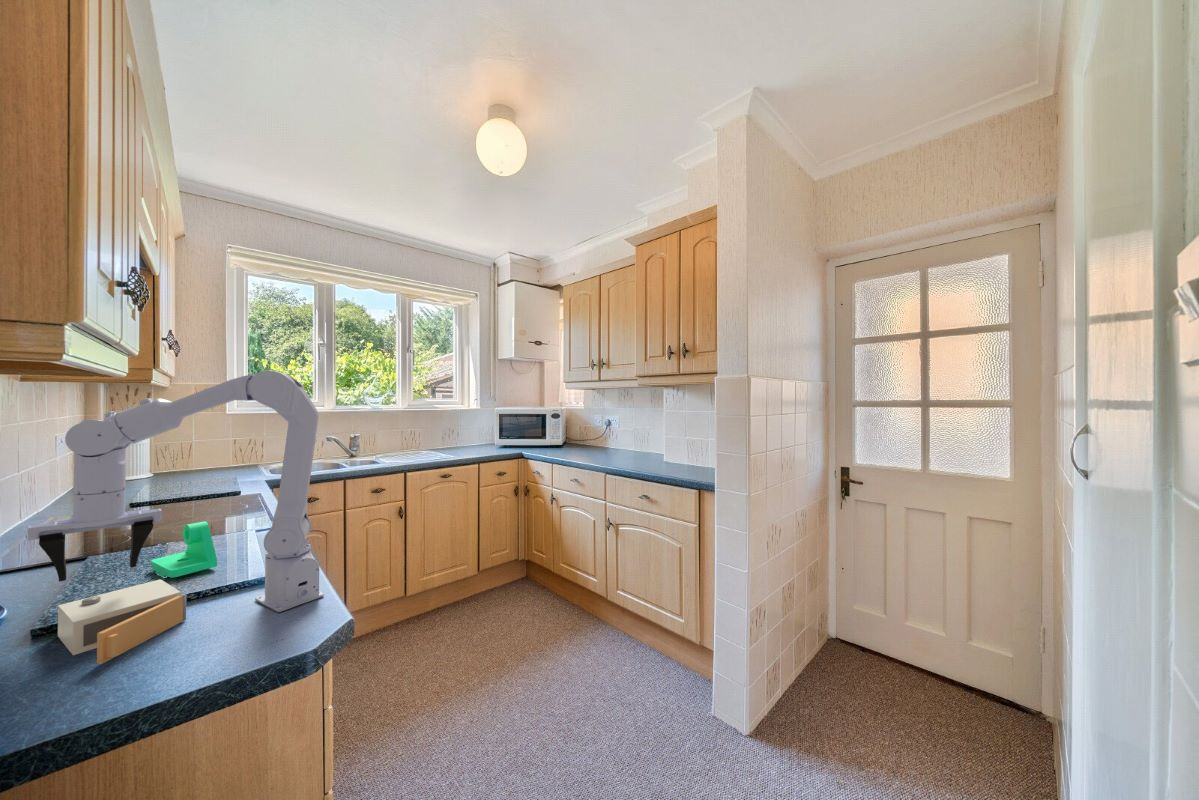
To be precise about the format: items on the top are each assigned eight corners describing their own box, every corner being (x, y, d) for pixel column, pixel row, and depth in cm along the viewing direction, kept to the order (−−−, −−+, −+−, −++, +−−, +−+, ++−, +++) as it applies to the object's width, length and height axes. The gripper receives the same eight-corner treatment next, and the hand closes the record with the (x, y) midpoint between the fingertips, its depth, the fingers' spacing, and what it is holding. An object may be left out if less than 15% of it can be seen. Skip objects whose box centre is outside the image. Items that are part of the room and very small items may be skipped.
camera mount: (149, 571, 96) (149, 525, 96) (194, 560, 103) (194, 517, 103) (171, 583, 90) (171, 534, 90) (216, 571, 97) (217, 525, 97)
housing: (180, 620, 75) (181, 588, 75) (73, 655, 65) (73, 618, 65) (158, 604, 81) (158, 574, 81) (56, 634, 71) (56, 599, 71)
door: (182, 618, 75) (182, 593, 75) (192, 618, 75) (193, 593, 75) (96, 663, 63) (96, 633, 63) (109, 663, 63) (109, 633, 63)
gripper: (159, 482, 81) (158, 554, 81) (31, 494, 69) (30, 578, 69) (163, 487, 76) (162, 564, 76) (26, 501, 65) (25, 592, 65)
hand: (99, 572), depth 72 cm, fingers open, 7 cm apart
